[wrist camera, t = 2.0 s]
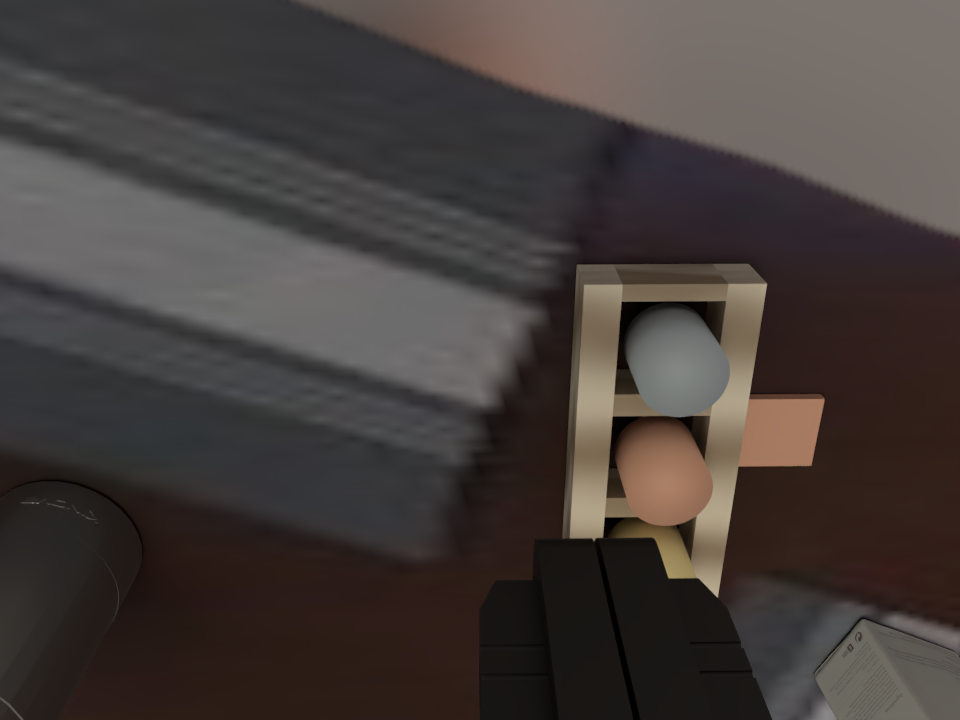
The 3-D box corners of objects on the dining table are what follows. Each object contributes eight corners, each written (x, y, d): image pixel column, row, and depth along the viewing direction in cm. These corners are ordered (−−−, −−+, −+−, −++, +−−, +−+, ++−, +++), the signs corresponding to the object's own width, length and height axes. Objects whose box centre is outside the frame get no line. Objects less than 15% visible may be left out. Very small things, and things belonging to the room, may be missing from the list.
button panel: (704, 567, 52) (717, 600, 50) (560, 568, 52) (566, 602, 50) (748, 263, 44) (766, 283, 41) (576, 264, 44) (584, 284, 41)
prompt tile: (807, 460, 49) (811, 465, 49) (732, 460, 49) (735, 466, 48) (820, 393, 47) (824, 398, 47) (742, 394, 47) (746, 399, 47)
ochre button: (677, 573, 50) (693, 621, 46) (603, 574, 50) (614, 622, 46) (685, 512, 48) (702, 557, 44) (608, 513, 48) (620, 558, 44)
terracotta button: (689, 482, 47) (707, 525, 44) (611, 482, 47) (623, 526, 43) (698, 414, 45) (718, 453, 42) (616, 414, 45) (629, 454, 42)
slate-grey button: (702, 379, 44) (723, 416, 41) (619, 380, 44) (633, 417, 41) (712, 302, 42) (735, 334, 39) (626, 302, 42) (641, 334, 39)
